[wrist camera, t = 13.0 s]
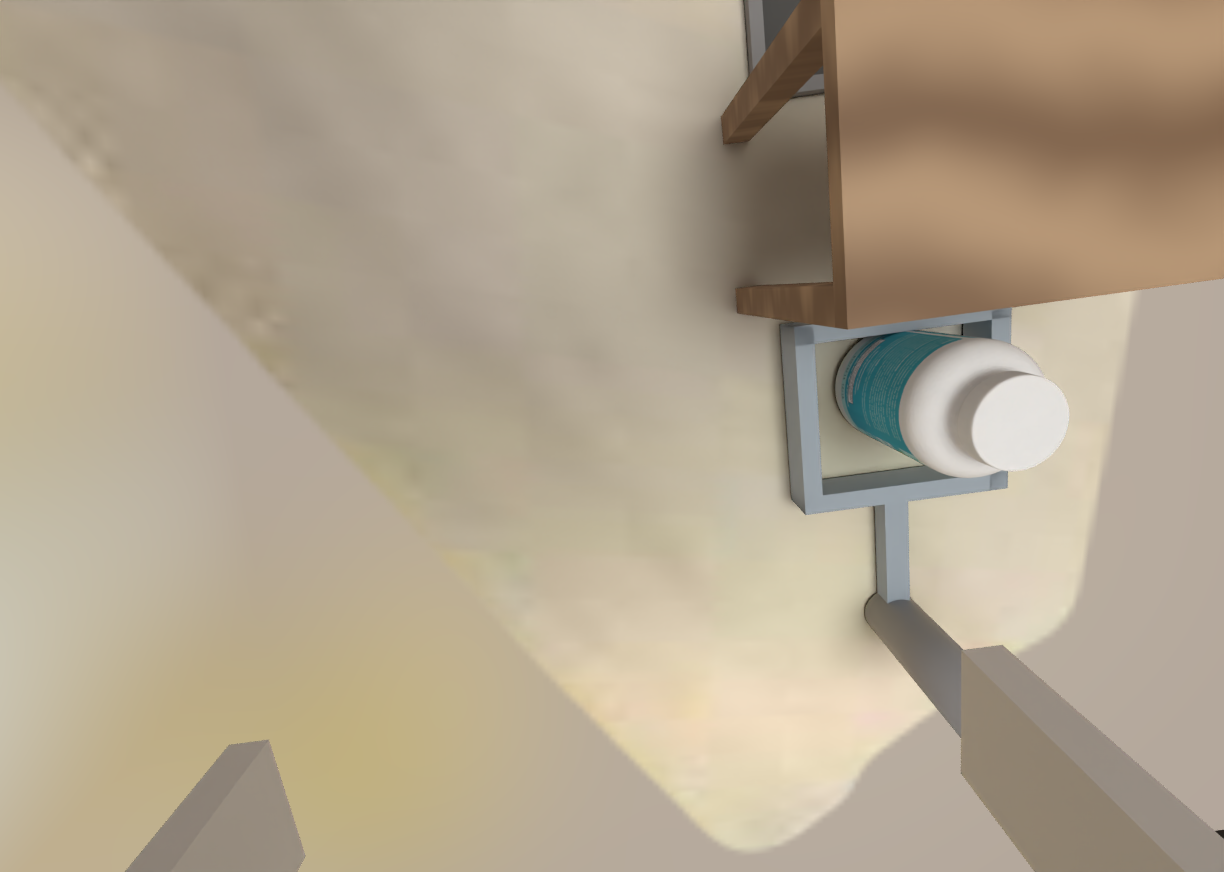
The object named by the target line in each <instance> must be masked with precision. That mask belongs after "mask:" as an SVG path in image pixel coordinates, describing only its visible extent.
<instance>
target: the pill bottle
mask: <svg viewBox="0 0 1224 872" xmlns="http://www.w3.org/2000/svg"><path fill="white" fill-rule="evenodd" d="M835 392H836V399H837V403H838V406H839V408H840V411H841V412H842V414H843V416H844V417H845V419H846V420H847V421H848V422H849V423H850V424H851V425H852V426H853V427H854V428H856V429H857V430H859V431H861V432H862V433H864V434H866V435H868V436H870V437H872V438H874V439H875V440H877V441H879V442H881V443H883V444H885V445H887V446H889V447H891V448H893V449H895V450H897V451H899V452H901V453H903V454H904V455H906V456H908V457H910V458H912V459H914V460H916V461H918V462H920V463H922V464H924V465H925V466H927V467H929V468H931V469H933V470H935V471H937V472H940V473H942V474H945V475H948V476H953V477H959V478H976V477H982V476H987V475H991V474H994V473H997V472H999V471H1001V470H1003V471H1021V470H1026V469H1029V468H1032V467H1034V466H1036V465H1038V464H1040V463H1042V462H1043V461H1045V460H1046V459H1047V458H1048V457H1050V456H1051V455H1052V454H1053V453H1054V452H1055V450H1056V449H1057V448H1058V447H1059V445H1060V444H1061V442H1062V440H1063V438H1064V436H1065V434H1066V431H1067V428H1068V424H1069V407H1068V403H1067V400H1066V398H1065V396H1064V394H1063V392H1062V391H1061V390H1060V388H1059V387H1058V386H1057V385H1056V384H1054V383H1053V382H1052V381H1050V380H1048V379H1047V378H1045V376H1044V374H1043V372H1042V370H1041V369H1040V367H1039V366H1038V364H1037V363H1036V362H1035V361H1034V360H1033V359H1032V358H1031V357H1030V356H1029V355H1028V354H1027V353H1026V352H1024V351H1023V350H1021V349H1020V348H1018V347H1016V346H1014V345H1012V344H1010V343H1007V342H1004V341H1000V340H995V339H988V338H980V337H971V336H962V335H953V334H944V333H935V332H927V331H919V330H912V331H905V332H898V333H890V334H883V335H876V336H868V337H865V338H864V339H862V340H861V341H860V342H858V343H857V344H856V345H855V346H854V347H853V348H852V349H851V350H850V351H849V352H848V354H847V355H846V356H845V358H844V360H843V361H842V363H841V365H840V368H839V370H838V373H837V377H836V385H835Z"/></svg>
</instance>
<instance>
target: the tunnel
mask: <svg viewBox="0 0 1224 872" xmlns="http://www.w3.org/2000/svg"><path fill="white" fill-rule="evenodd" d="M822 66H823V71H824V93H825V115H826V137H827V159H828V181H829V203H830V224H831V246H832V268H833V282H819V283H798V284H777V285H759V286H751V287H744V288H737V289H735V290H736V302H737V313H739V314H746V315H752V316H759V317H766V318H773V319H779V320H786V321H793V322H799V323H806V324H813V325H820V326H826V327H833V328H840V329H847V330H849V329H856V328H864V327H871V326H878V325H886V324H893V323H900V322H908V321H915V320H922V319H930V318H937V317H944V316H952V315H959V314H966V313H974V312H981V311H988V310H996V309H1003V308H1010V307H1018V306H1025V305H1032V304H1040V303H1047V302H1054V301H1062V300H1069V299H1076V298H1084V297H1091V296H1098V295H1106V294H1113V293H1120V292H1128V291H1135V290H1142V289H1150V288H1157V287H1164V286H1171V285H1179V284H1186V283H1194V282H1201V281H1208V280H1216V279H1223V278H1224V0H801V1H800V2H799V4H798V5H797V7H796V8H795V9H794V11H793V12H792V14H791V15H790V17H789V18H788V20H787V21H786V23H785V24H784V26H783V27H782V28H781V30H780V31H779V33H778V34H777V36H776V37H775V39H774V40H773V42H772V43H771V45H770V46H769V47H768V49H767V50H766V52H765V53H764V55H763V56H762V58H761V59H760V61H759V62H758V64H757V65H756V66H755V68H754V69H753V71H752V72H751V74H750V75H749V77H748V78H747V80H746V81H745V82H744V84H743V85H742V87H741V88H740V90H739V91H738V93H737V94H736V96H735V97H734V99H733V100H732V101H731V103H730V104H729V106H728V107H727V109H726V110H725V112H724V113H723V115H722V116H721V121H722V133H723V145H724V144H731V143H738V142H745V141H749V140H750V139H751V138H752V137H753V136H754V135H755V134H756V133H757V132H758V131H759V130H760V129H761V128H762V127H763V126H764V125H765V124H766V123H767V122H768V121H769V120H770V119H771V118H772V117H773V116H774V115H775V114H776V113H777V112H778V111H779V110H780V109H781V108H782V107H783V106H784V105H785V104H786V103H787V102H788V101H789V99H790V98H791V97H792V96H793V95H794V94H795V93H796V92H797V91H798V90H799V89H800V88H801V87H802V86H803V85H804V84H805V83H806V82H807V81H808V80H809V79H810V78H811V77H812V76H813V75H814V74H815V73H816V72H817V71H818V70H819V69H820V68H821V67H822Z"/></svg>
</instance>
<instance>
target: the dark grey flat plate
mask: <svg viewBox="0 0 1224 872" xmlns="http://www.w3.org/2000/svg"><path fill="white" fill-rule="evenodd" d="M800 1H801V0H744V11H745V25H746V39H747V53H748V67H749V75H750V74H751V72H752V71H753V69H754V68H755V66H756V65H757V64H758V62H759V61H760V59H761V58H762V56H763V55H764V53H765V52H766V50H767V49H768V47H769V46H770V45H771V43H772V42H773V40H774V39H775V37H776V36H777V34H778V33H779V31H780V30H781V28H782V27H783V26H784V24H785V23H786V21H787V20H788V18H789V17H790V15H791V14H792V12H793V11H794V9H795V8H796V7H797V5H798V4H799V2H800ZM821 93H824V71H823V66H822V67H821V68H820V69H819V70H818V71H817V72H816V73H815V74H814V75H813V76H812V77H811V78H810V79H809V80H808V81H807V82H806V83H805V84H804V85H803V86H802V87H801V88H800V89H799V90H798V91H797V92H796V93H795V94H794V95H793V96H792V97H791V98H793V97H800V96H807V95H814V94H821Z"/></svg>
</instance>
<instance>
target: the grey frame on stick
mask: <svg viewBox="0 0 1224 872" xmlns="http://www.w3.org/2000/svg"><path fill="white" fill-rule="evenodd" d="M1011 310H1012V307H1010V308H1003V309H996V310H988V311H981V312H974V313H966V314H959V315H952V316H944V317H937V318H930V319H922V320H915V321H908V322H900V323H893V324H886V325H878V326H871V327H864V328H856V329H849V330H847V329H840V328H833V327H826V326H820V325H813V324H806V323H799V322H794V323H787V324H780V333H781V348H782V363H783V378H784V393H785V408H786V423H787V438H788V453H789V468H790V483H791V498H792V501H793V502H794V503H795V504H796V505H797V506H798V507H799V508H800V509H801V510H802V511H803V513H804V514H805V515H809V514H816V513H824V512H831V511H839V510H846V509H854V508H861V507H869V506H875V530H876V560H877V591H878V593H876V594H875V595H874V596H872V597H871V599H870V600H869V601H868V603H867V605H866V608H865V618H866V621H867V622H868V624H869V625H870V627H871V628H872V629H873V630H874V631H875V633H876V634H877V635H878V636H879V638H880V639H881V640H882V641H883V643H884V644H885V645H886V646H887V648H888V649H889V650H890V651H891V652H892V654H893V655H894V656H895V657H896V659H897V660H898V661H899V662H900V664H901V665H902V666H903V667H904V669H905V670H906V671H907V672H908V673H909V675H910V676H911V677H912V678H913V680H914V681H915V682H916V683H917V685H918V686H919V687H920V688H921V690H922V691H923V692H924V693H925V694H926V696H927V697H928V698H929V699H930V701H931V702H932V703H933V704H934V706H935V707H936V708H937V709H938V711H939V712H940V713H941V714H942V715H943V717H944V718H945V719H946V720H947V722H948V723H949V724H950V725H951V726H952V728H953V729H954V730H955V731H956V733H957V734H958V735H959V736H960V738H961V650H963V649H962V648H961V647H960V646H959V645H958V644H957V643H956V642H955V641H954V640H953V639H952V638H951V637H950V636H949V635H948V634H947V633H946V632H945V631H944V630H943V629H942V628H941V627H940V626H939V625H938V624H937V623H936V622H935V621H934V620H933V619H932V618H930V617H929V616H928V615H927V614H926V613H925V612H924V611H923V610H922V609H921V608H920V607H919V606H918V605H917V604H916V603H915V602H914V601H913V600H912V599H911V598H910V582H909V528H908V501H914V500H922V499H929V498H937V497H944V496H952V495H960V494H967V493H975V492H982V491H990V490H997V489H1005V488H1007V487H1008V471H1003V470H1001V471H999V472H997V473H994V474H991V475H987V476H982V477H976V478H959V477H953V476H948V475H945V474H942V473H940V472H937V471H935V470H933V469H931V468H929V467H927V466H920V467H913V468H905V469H898V470H890V471H883V472H875V473H868V474H860V475H853V476H845V477H838V478H830V479H823V480H822V472H821V453H820V435H819V416H818V398H817V379H816V361H815V344H817V343H824V342H832V341H839V340H846V339H854V338H861V337H868V336H876V335H883V334H890V333H898V332H905V331H912V330H920V329H927V328H934V327H942V326H949V325H956V324H963V336H971V337H980V338H988V339H995V340H1000V341H1004V342H1007V343H1010V344H1011Z"/></svg>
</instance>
